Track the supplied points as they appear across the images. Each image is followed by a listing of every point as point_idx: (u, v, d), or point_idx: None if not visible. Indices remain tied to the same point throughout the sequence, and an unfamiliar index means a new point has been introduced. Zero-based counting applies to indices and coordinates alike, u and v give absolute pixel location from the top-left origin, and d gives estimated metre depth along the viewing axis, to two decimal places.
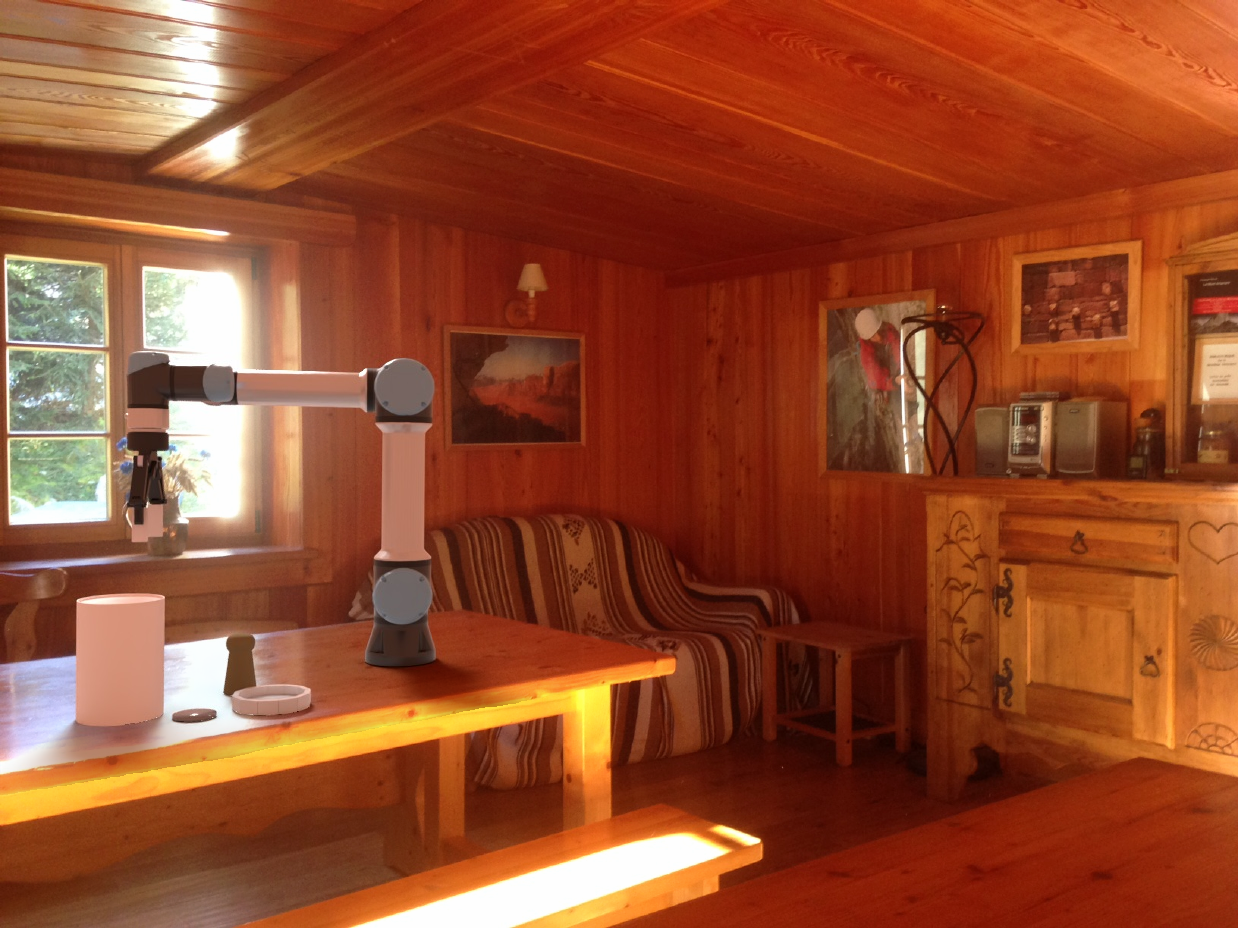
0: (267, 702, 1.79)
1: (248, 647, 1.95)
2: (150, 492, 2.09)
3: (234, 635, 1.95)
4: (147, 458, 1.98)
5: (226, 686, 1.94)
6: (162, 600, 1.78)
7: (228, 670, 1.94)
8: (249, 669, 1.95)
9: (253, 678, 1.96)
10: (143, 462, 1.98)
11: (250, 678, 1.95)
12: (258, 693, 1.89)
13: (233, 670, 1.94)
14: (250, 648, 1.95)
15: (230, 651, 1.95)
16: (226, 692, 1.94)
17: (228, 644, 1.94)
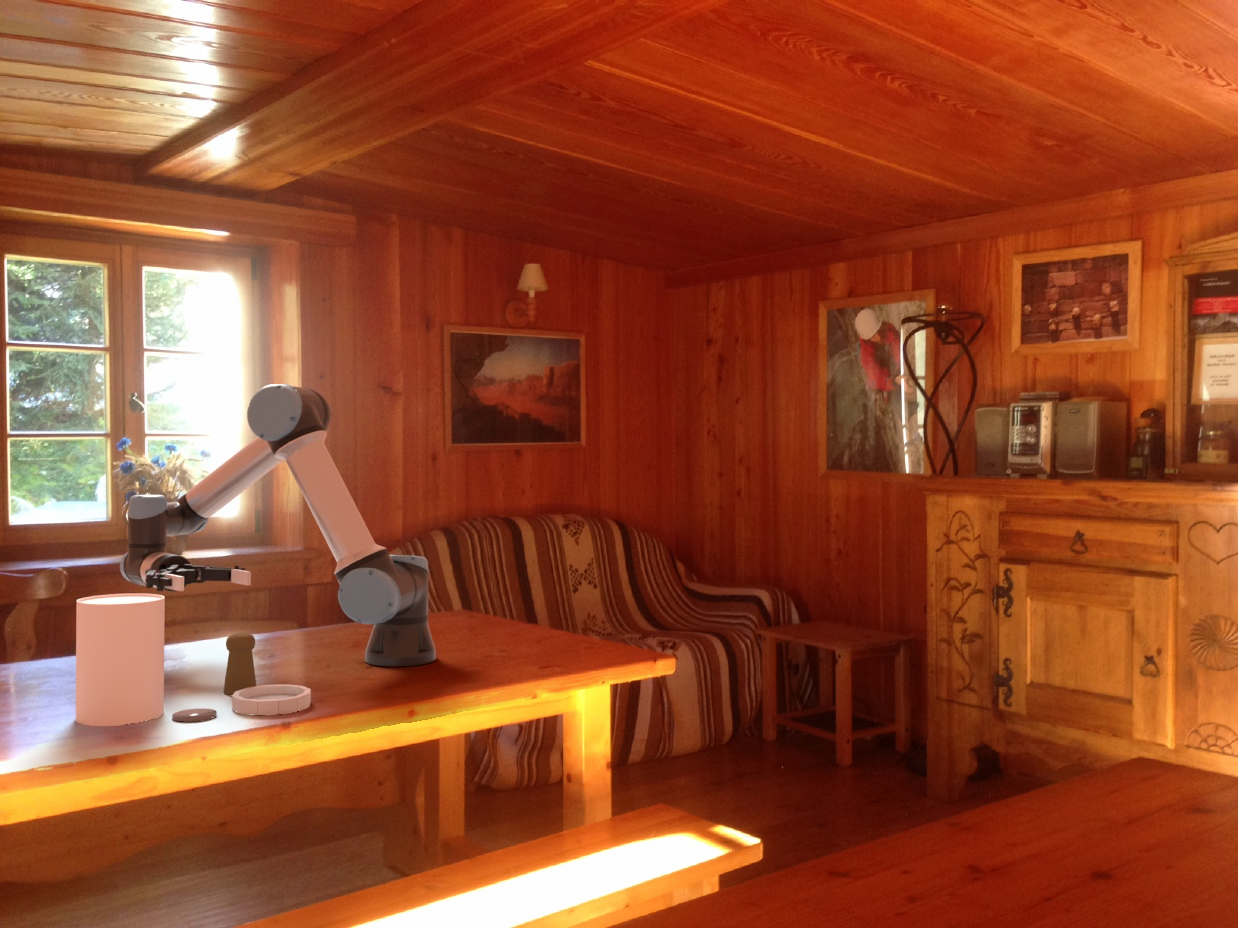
0: (267, 702, 1.79)
1: (248, 647, 1.95)
2: (220, 578, 2.13)
3: (234, 635, 1.95)
4: (147, 570, 2.08)
5: (226, 686, 1.94)
6: (162, 600, 1.78)
7: (228, 670, 1.94)
8: (249, 669, 1.95)
9: (253, 678, 1.96)
10: (146, 573, 2.08)
11: (250, 678, 1.95)
12: (258, 693, 1.89)
13: (233, 670, 1.94)
14: (250, 648, 1.95)
15: (230, 651, 1.95)
16: (226, 692, 1.94)
17: (228, 644, 1.94)
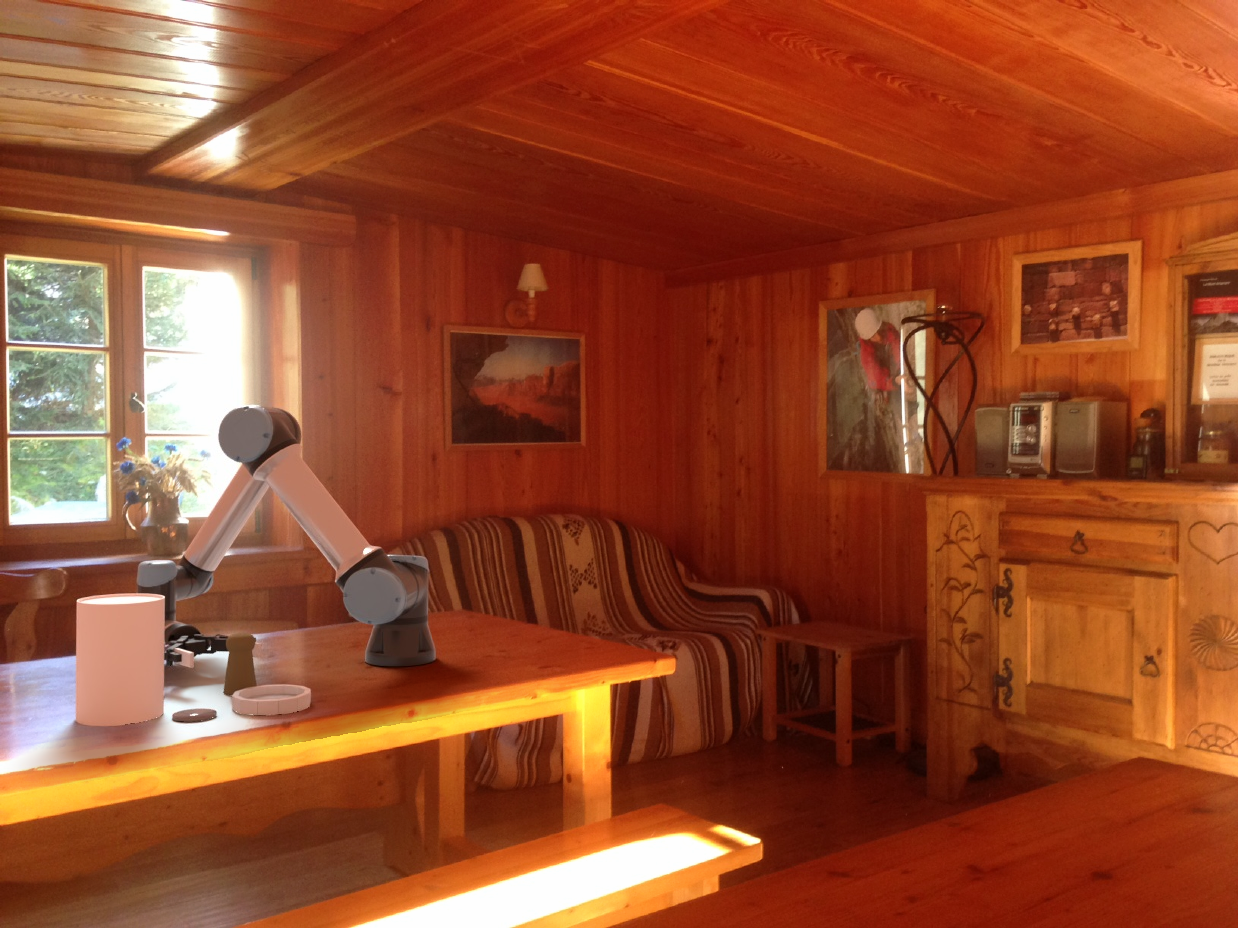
0: (267, 702, 1.79)
1: (248, 647, 1.95)
2: None
3: (234, 635, 1.95)
4: None
5: (226, 686, 1.94)
6: (162, 600, 1.78)
7: (228, 670, 1.94)
8: (249, 670, 1.95)
9: (253, 678, 1.96)
10: None
11: (250, 678, 1.95)
12: (258, 693, 1.89)
13: (233, 670, 1.94)
14: (250, 648, 1.95)
15: (230, 651, 1.95)
16: (226, 692, 1.94)
17: (228, 644, 1.94)
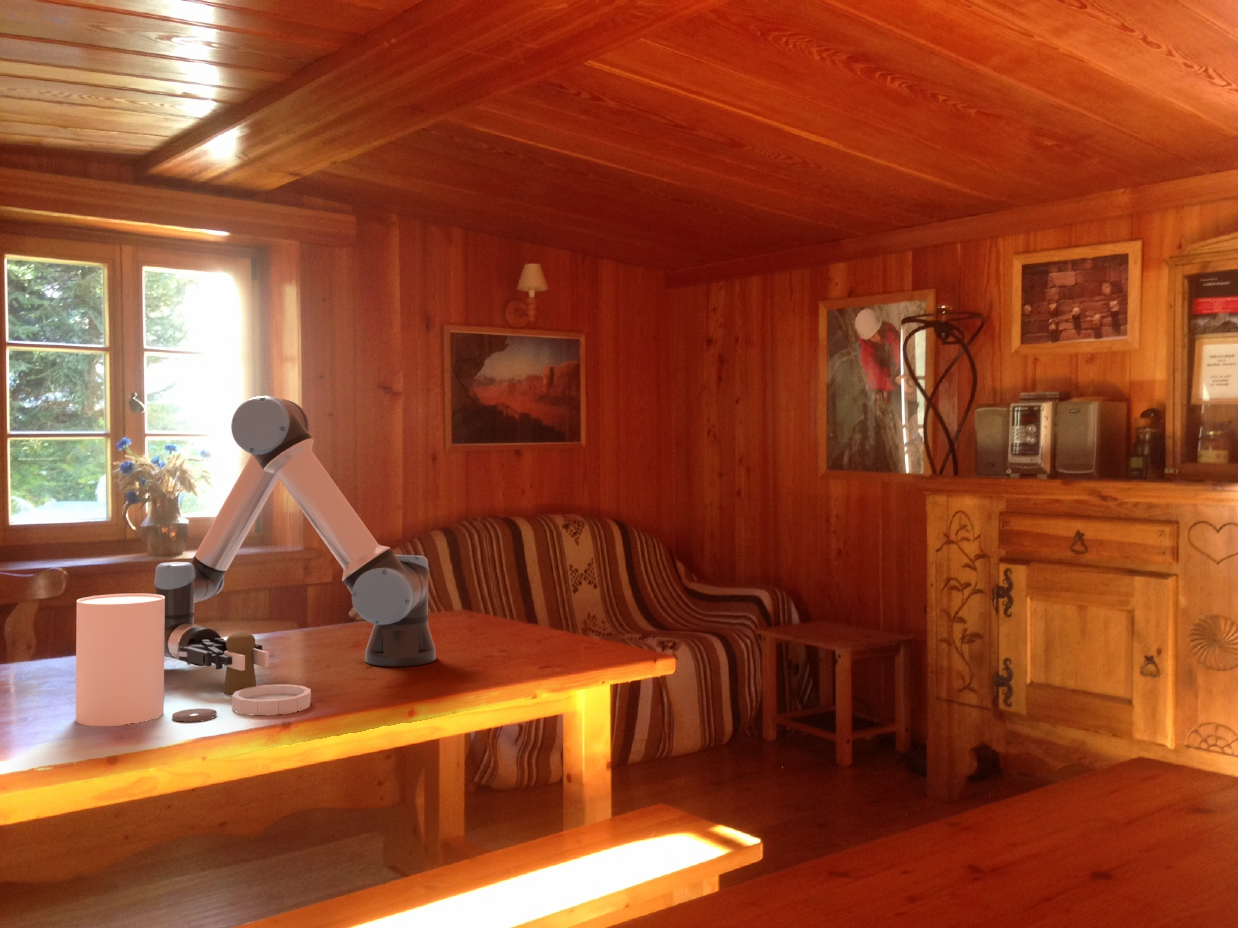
0: (267, 702, 1.79)
1: (248, 647, 1.95)
2: None
3: (234, 635, 1.95)
4: (181, 647, 1.99)
5: (226, 686, 1.94)
6: (162, 600, 1.78)
7: (228, 670, 1.94)
8: (249, 669, 1.95)
9: (253, 678, 1.96)
10: (183, 651, 1.98)
11: (250, 678, 1.95)
12: (258, 693, 1.89)
13: (233, 670, 1.94)
14: (250, 648, 1.95)
15: (230, 651, 1.95)
16: (226, 692, 1.94)
17: (228, 644, 1.94)
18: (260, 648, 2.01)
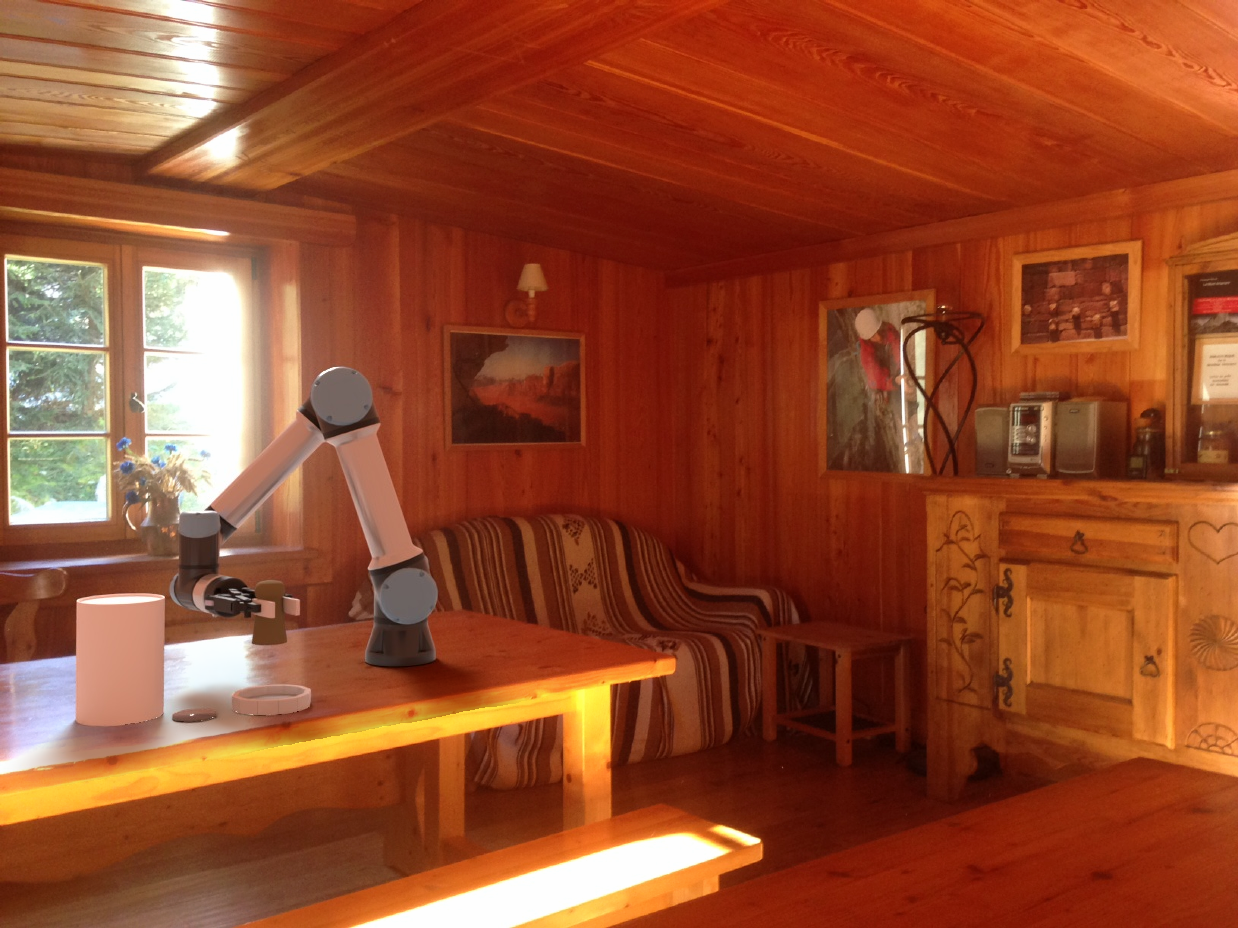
0: (267, 702, 1.79)
1: (278, 594, 1.84)
2: None
3: (263, 582, 1.84)
4: (207, 595, 1.88)
5: (255, 635, 1.83)
6: (162, 600, 1.78)
7: (257, 619, 1.83)
8: (279, 618, 1.84)
9: (283, 628, 1.85)
10: (209, 599, 1.88)
11: (280, 627, 1.84)
12: (258, 693, 1.89)
13: (262, 619, 1.83)
14: (280, 595, 1.84)
15: None
16: (255, 642, 1.83)
17: (257, 591, 1.83)
18: (290, 597, 1.90)
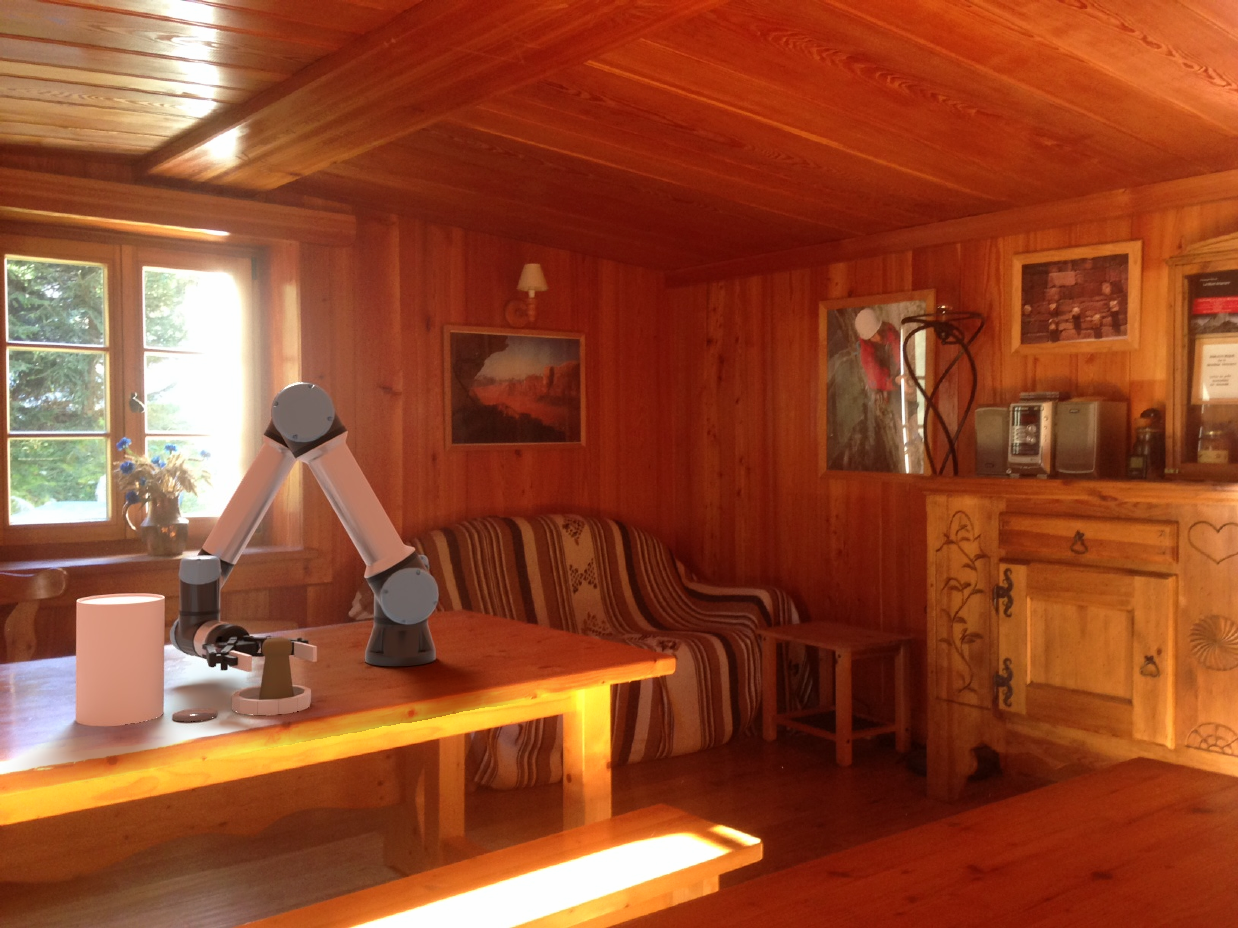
0: (267, 702, 1.79)
1: (286, 652, 1.85)
2: None
3: (271, 639, 1.85)
4: (204, 644, 1.89)
5: (262, 693, 1.84)
6: (162, 600, 1.78)
7: (264, 676, 1.84)
8: (287, 676, 1.85)
9: (290, 685, 1.86)
10: (204, 648, 1.88)
11: (287, 685, 1.85)
12: (258, 693, 1.89)
13: (269, 677, 1.84)
14: (287, 653, 1.85)
15: (266, 656, 1.84)
16: None
17: (264, 649, 1.84)
18: (307, 642, 1.94)
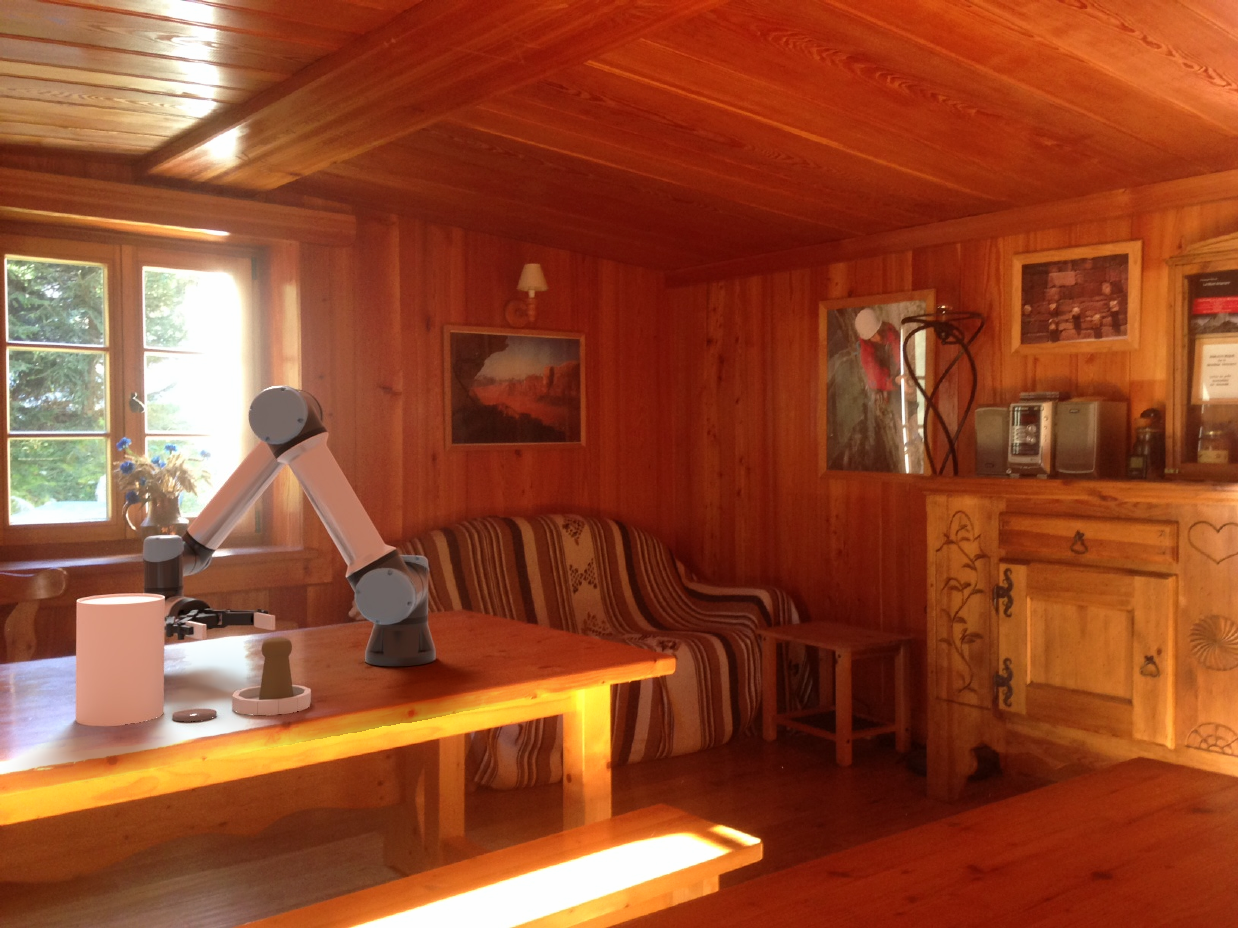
0: (267, 702, 1.79)
1: (285, 652, 1.85)
2: (242, 622, 2.03)
3: (270, 640, 1.85)
4: (165, 616, 1.99)
5: (262, 694, 1.84)
6: (162, 600, 1.78)
7: (264, 677, 1.84)
8: (286, 676, 1.85)
9: (290, 685, 1.86)
10: (165, 620, 1.98)
11: (287, 685, 1.85)
12: (258, 693, 1.89)
13: (269, 677, 1.84)
14: (287, 653, 1.85)
15: (266, 657, 1.84)
16: None
17: (264, 649, 1.84)
18: (267, 613, 2.05)
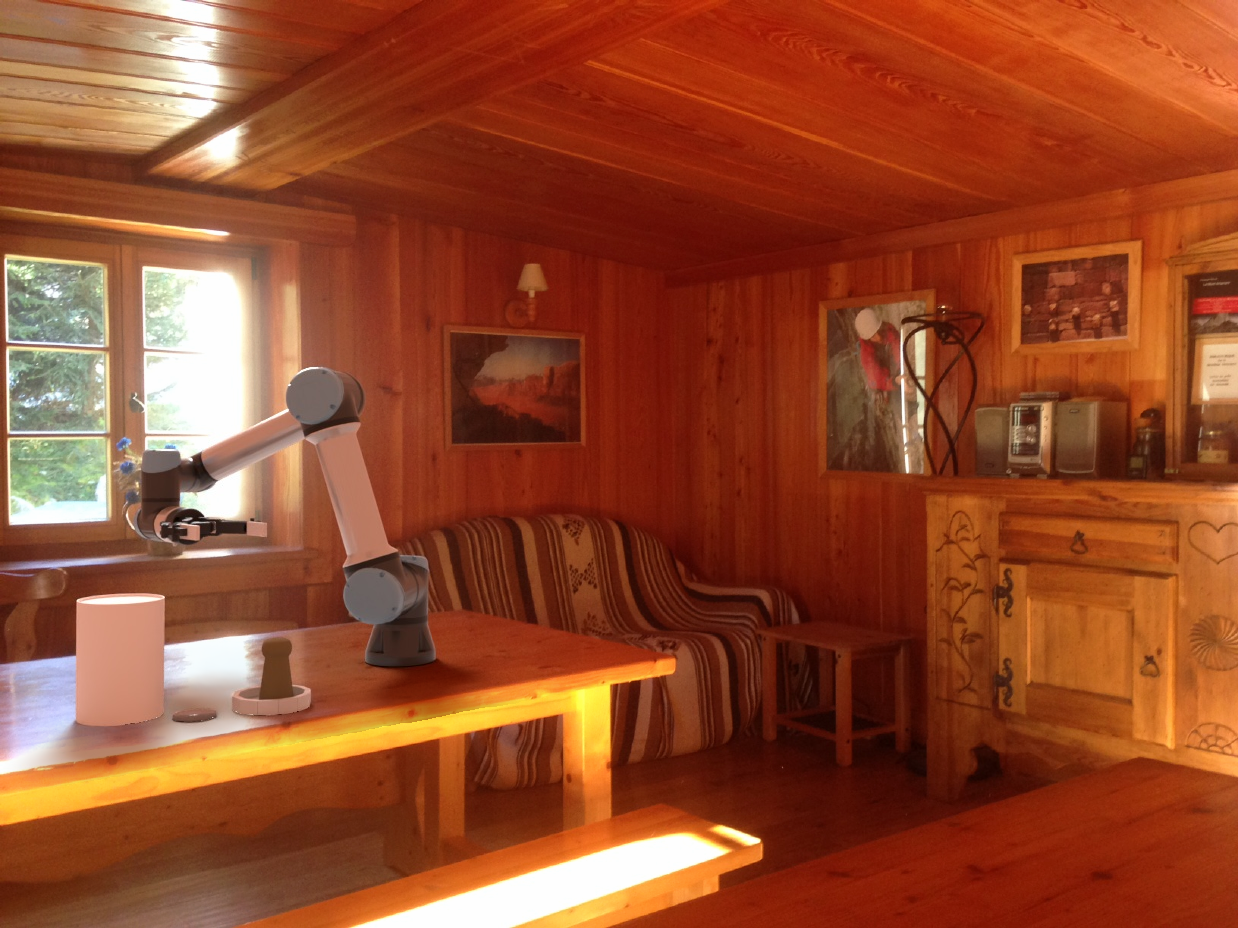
0: (267, 702, 1.79)
1: (285, 652, 1.85)
2: (235, 531, 2.09)
3: (270, 640, 1.85)
4: (161, 522, 2.05)
5: (262, 694, 1.84)
6: (162, 600, 1.78)
7: (264, 677, 1.84)
8: (286, 676, 1.85)
9: (290, 685, 1.86)
10: (161, 525, 2.04)
11: (287, 685, 1.85)
12: (258, 693, 1.89)
13: (269, 677, 1.84)
14: (287, 653, 1.85)
15: (266, 657, 1.84)
16: None
17: (264, 649, 1.84)
18: None
